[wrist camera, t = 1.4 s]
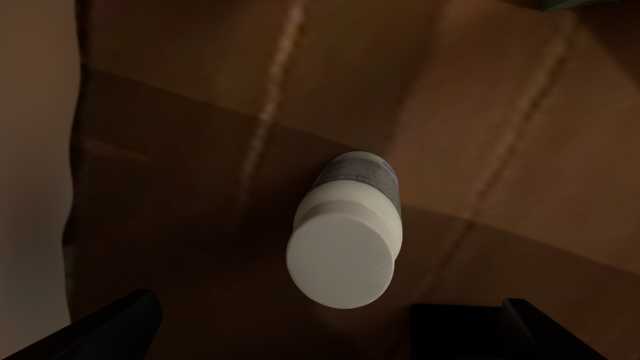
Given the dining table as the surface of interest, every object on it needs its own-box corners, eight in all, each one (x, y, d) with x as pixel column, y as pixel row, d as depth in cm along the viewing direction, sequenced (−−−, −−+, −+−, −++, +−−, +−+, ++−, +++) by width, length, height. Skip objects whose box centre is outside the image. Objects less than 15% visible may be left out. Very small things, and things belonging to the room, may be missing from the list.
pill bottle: (314, 154, 20) (263, 205, 12) (395, 145, 19) (399, 197, 11) (325, 227, 21) (286, 318, 13) (401, 223, 20) (409, 320, 12)
